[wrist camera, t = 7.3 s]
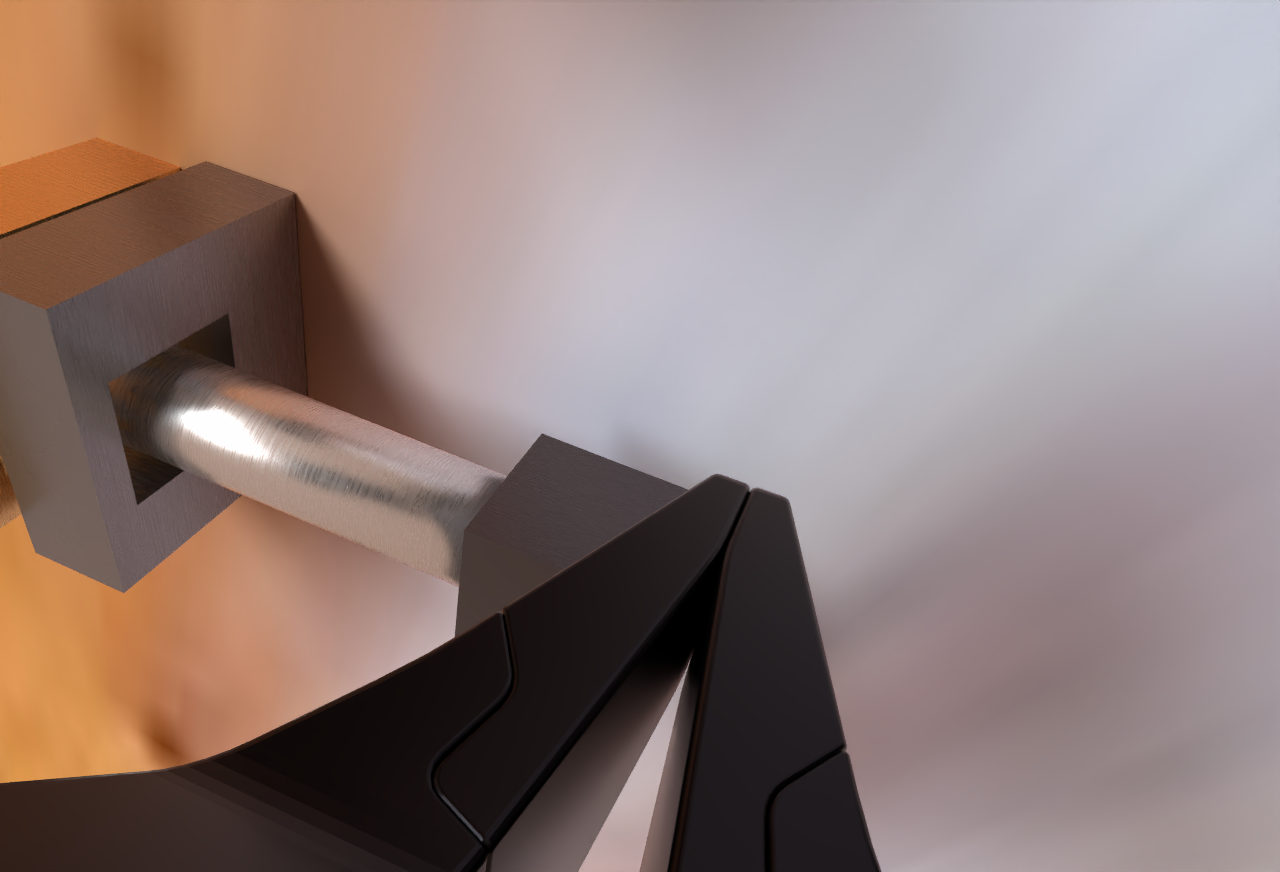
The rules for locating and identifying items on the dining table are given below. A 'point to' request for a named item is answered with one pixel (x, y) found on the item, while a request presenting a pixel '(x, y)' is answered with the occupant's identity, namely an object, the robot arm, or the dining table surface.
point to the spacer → (66, 207)
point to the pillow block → (136, 353)
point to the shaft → (384, 479)
